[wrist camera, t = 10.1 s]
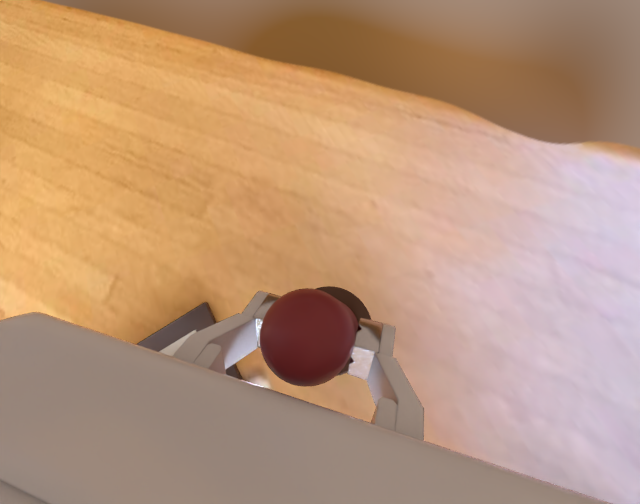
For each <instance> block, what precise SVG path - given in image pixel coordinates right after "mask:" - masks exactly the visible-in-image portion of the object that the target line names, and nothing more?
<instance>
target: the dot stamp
mask: <svg viewBox="0 0 640 504" xmlns="http://www.w3.org/2000/svg"><path fill="white" fill-rule="evenodd" d="M360 318H364V319H368V320H371V318H370V315H369V312H368V311H367V309H366V307H365V306H364V304H363V303H362V302H361V301H360V299H359V298H357V297H356V296H355V295H354V294H352V293H351V292H349V291H347V290H345V289H342V288H338V287H320V288H317V289H308V288H306V289H298V290H294V291H291V292H289V293H287V294H285V295H283V296H282V297H280V298H279V299H278V300H276V301H275V302H274V303H273V304H272V306H271V307H270V308H269V309H268V311H267V312H266V314H265V316H264V319H263V322H262V325H261V329H260V347H261V352H262V355H263V357H264V360H265V362H266V363H267V365H268V366H269V368H270V369H271V370H272V371H273V372H274V373H275V374H276V375H277V376H278V377H279V378H281V379H282V380H284V381H286V382H288V383H290V384H293V385H297V386H315V385H319V384H322V383H325V382H327V381H329V380H331V379H332V378H334V377H335V376H337V375H342V374H345V373H347V372H348V369H349V363H350V359H351V354H352V352H353V348H354V344H355V338H356V333H357V329H358V325H359V321H360Z"/></svg>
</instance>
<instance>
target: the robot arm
mask: <svg viewBox="0 0 640 504" xmlns="http://www.w3.org/2000/svg"><path fill="white" fill-rule="evenodd" d="M280 297H281V296H278V295H274V294H271V293H267V292H263V291H258V292H257V293H256V294H255V296H254V297H253V298H252V300H251V301H250V303H249V304H248V305H247V307H246V308H245V309H244V311H243V312H242V314H239V313H238V314H235V315H233V316H231V317H229V318H227V319H225V320H222V321H220V322H218V323H216V324H214V325H211V326H209V327H207V328H205V329H203V330H200V331H198V332H196V333H194V334H192V335H190V336H189V337H188V338H187V339H186V341H185V342H184V343H183V344H182V345H181V346H180V348H179V349H178V350H177V351H176V352H175V353H174V355H173V356H169V355H166V354H163V353H160V352H157V351H154V350H151V349H148V348H145V347H142V346H139V345H136V344H133V343H130V342H127V341H124V340H121V339H118V338H115V337H112V336H109V335H106V334H103V333H100V332H97V331H94V330H91V329H88V328H85V327H82V326H79V325H76V324H73V323H70V322H67V321H64V320H61V319H58V318H56V317H53V316H50V315H47V314H44V313H40V312H31V313H27V314H22V315H18V316H14V317H10V318H7V319H3V320H0V504H611V503H608V502H605V501H602V500H599V499H596V498H593V497H590V496H587V495H584V494H581V493H578V492H575V491H572V490H569V489H566V488H563V487H560V486H557V485H554V484H551V483H548V482H545V481H542V480H539V479H536V478H533V477H530V476H527V475H524V474H521V473H518V472H515V471H512V470H509V469H506V468H503V467H501V466H498V465H495V464H492V463H489V462H486V461H483V460H480V459H477V458H474V457H471V456H468V455H465V454H462V453H459V452H456V451H453V450H450V449H447V448H444V447H441V446H438V445H435V444H432V443H429V442H426V441H424V408H423V406H422V405H421V403H420V401H419V399H418V397H417V396H416V394H415V392H414V390H413V388H412V387H411V385H410V383H409V381H408V379H407V378H406V376H405V374H404V372H403V370H402V369H401V367H400V365H399V363H398V361H397V360H396V358H393V357H392V356H393V347H394V339H395V330H396V328H395V326H392V325H388V324H383V323H380V322H376V321H372V320H368V319H364V318H360V321H359V325H358V329H357V333H356V338H355V344H354V348H353V352H352V354H351V359H350V363H349V369H348V374H349V375H352V376H355V377H358V378H361V379H364V380H367V383H368V386H369V389H370V392H371V394H372V397H373V400H374V403H375V406H376V408H375V412H374V415H373V418H372V421H371V423H369V422H366V421H363V420H360V419H357V418H354V417H351V416H348V415H345V414H342V413H339V412H336V411H333V410H330V409H327V408H324V407H321V406H318V405H315V404H312V403H309V402H306V401H303V400H300V399H297V398H294V397H291V396H288V395H285V394H282V393H279V392H276V391H273V390H270V389H267V388H264V387H262V386H259V385H256V384H253V383H250V382H247V381H244V380H241V379H238V378H235V377H232V376H229V375H226V369H227V368H229V367H230V366H232V365H233V364H235V363H236V362H238V361H239V360H241V359H242V358H244V357H245V356H247V355H248V354H249V353H251V352H252V351H254V350H255V349H257V347H259V348H261V347H260V329H261V325H262V322H263V319H264V316H265V314H266V312H267V311H268V309H269V308H270V307H271V306H272V304H273V303H274V302H275V301H276V300H278V299H279V298H280Z"/></svg>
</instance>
